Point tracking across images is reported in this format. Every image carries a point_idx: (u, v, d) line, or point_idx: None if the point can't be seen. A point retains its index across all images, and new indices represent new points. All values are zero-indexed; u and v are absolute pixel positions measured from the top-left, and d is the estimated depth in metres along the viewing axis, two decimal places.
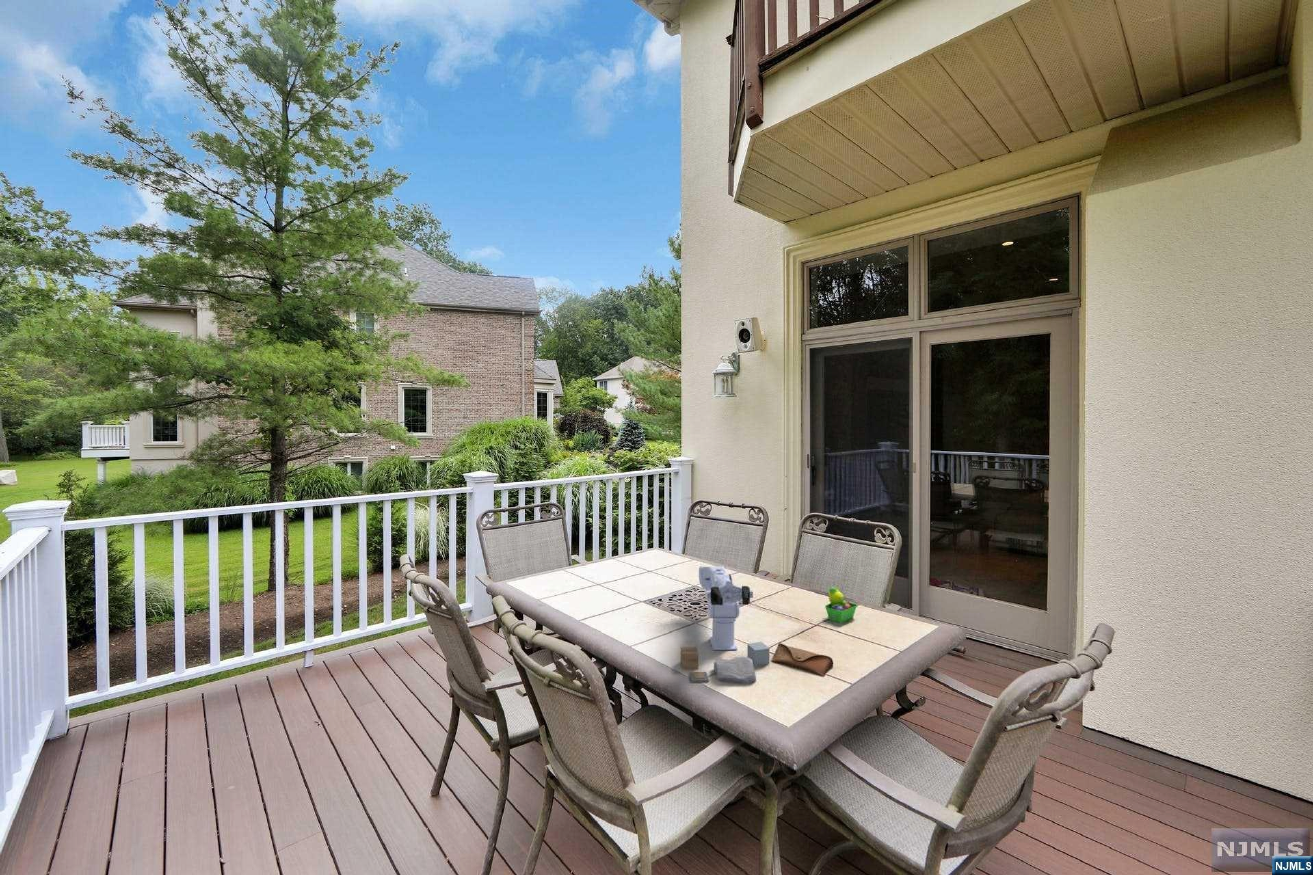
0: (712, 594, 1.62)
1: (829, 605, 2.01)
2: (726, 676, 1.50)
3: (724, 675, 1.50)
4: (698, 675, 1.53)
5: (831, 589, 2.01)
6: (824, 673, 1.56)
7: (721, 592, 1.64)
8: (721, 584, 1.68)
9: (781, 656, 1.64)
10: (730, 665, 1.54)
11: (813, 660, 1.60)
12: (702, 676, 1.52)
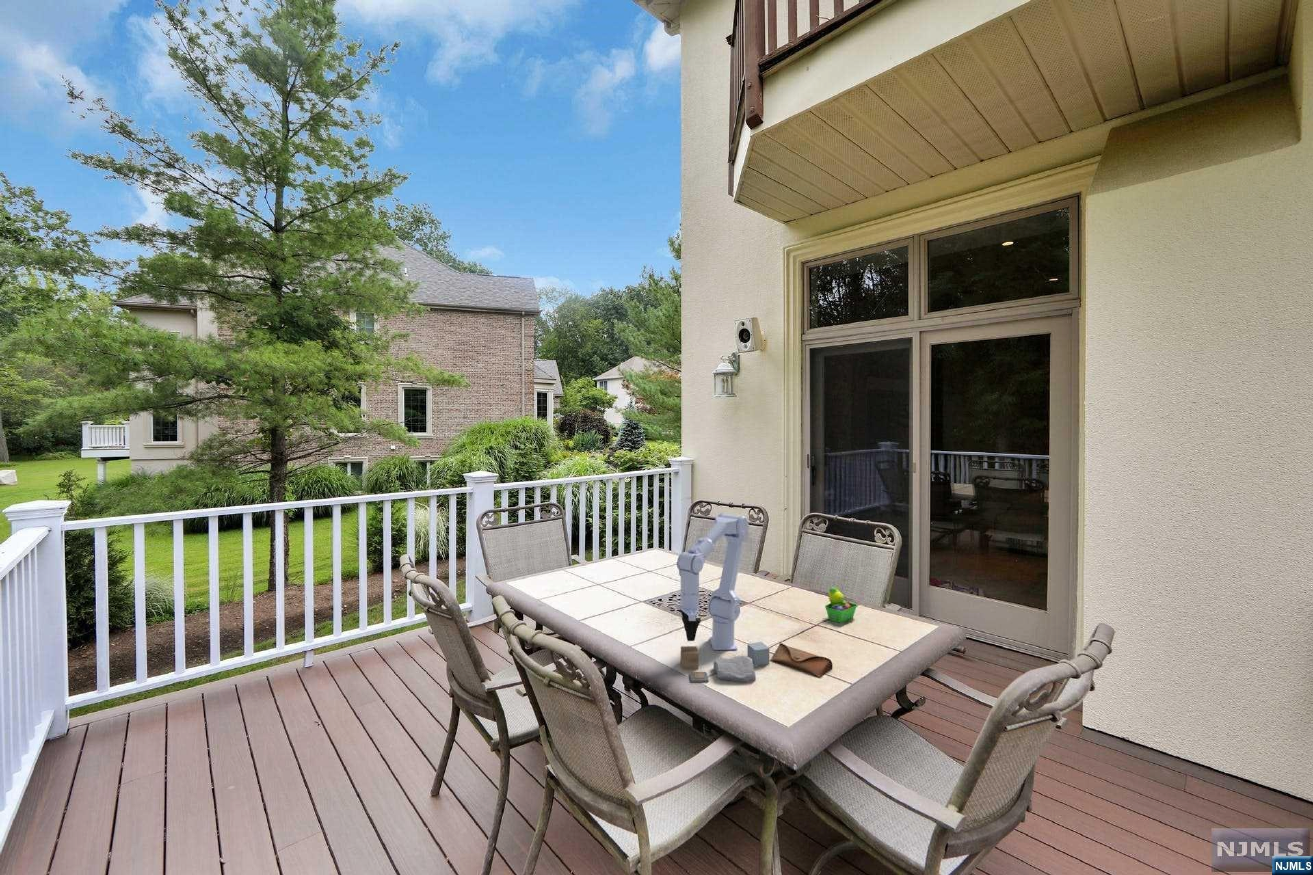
0: None
1: (829, 605, 2.01)
2: (726, 675, 1.51)
3: (724, 674, 1.51)
4: (698, 675, 1.53)
5: (831, 589, 2.01)
6: (821, 674, 1.55)
7: None
8: None
9: (780, 656, 1.64)
10: (730, 664, 1.55)
11: (811, 661, 1.59)
12: (702, 676, 1.52)
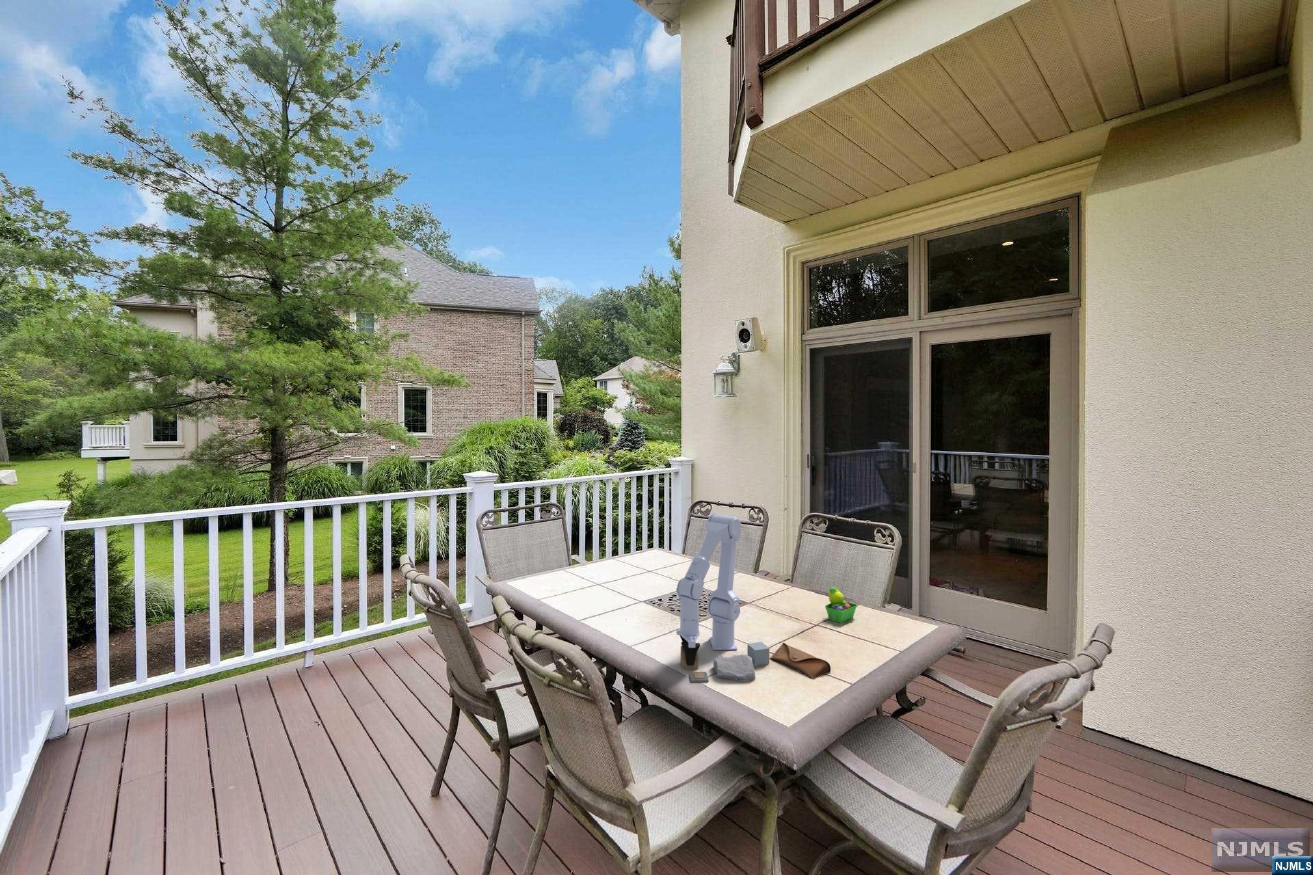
0: None
1: (829, 605, 2.01)
2: (726, 674, 1.52)
3: (724, 673, 1.52)
4: (698, 675, 1.53)
5: (831, 589, 2.01)
6: (815, 676, 1.54)
7: None
8: None
9: (780, 654, 1.65)
10: (730, 663, 1.56)
11: (808, 662, 1.58)
12: (702, 676, 1.52)
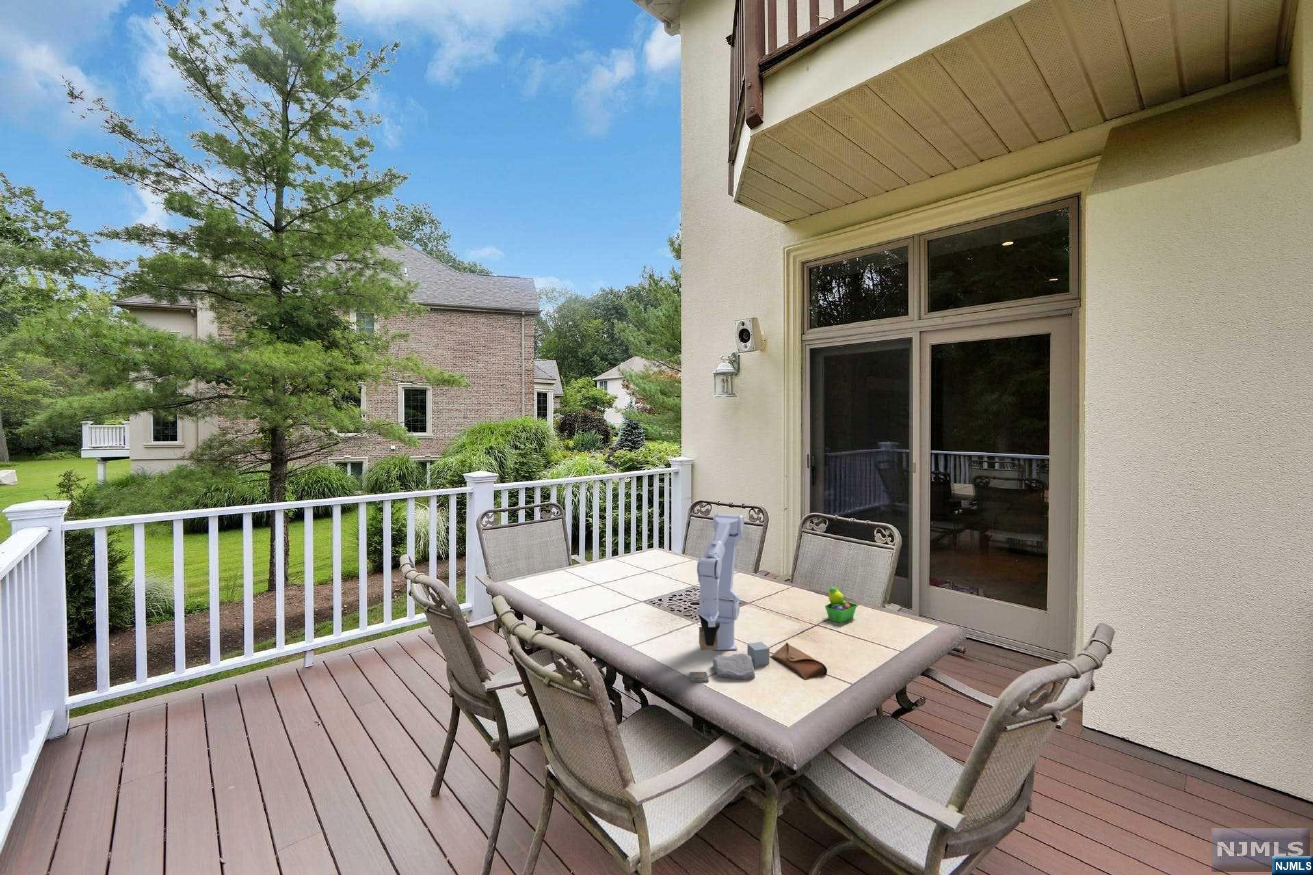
0: None
1: (829, 605, 2.01)
2: (725, 673, 1.52)
3: (723, 671, 1.52)
4: (698, 675, 1.53)
5: (831, 589, 2.02)
6: (808, 677, 1.53)
7: None
8: None
9: (779, 653, 1.65)
10: (729, 662, 1.57)
11: (804, 663, 1.58)
12: (702, 676, 1.52)
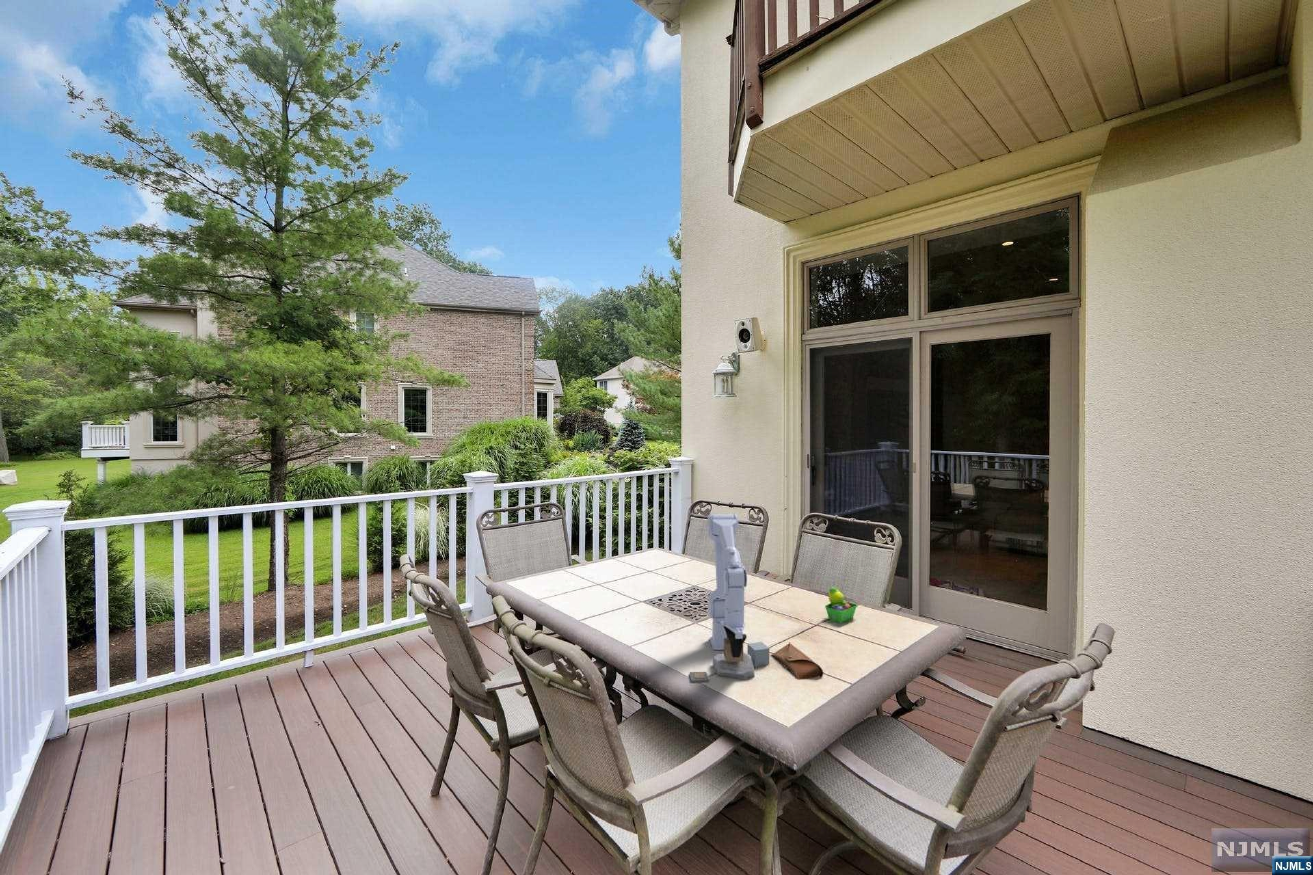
0: None
1: (829, 605, 2.01)
2: (725, 672, 1.53)
3: (723, 670, 1.53)
4: (698, 675, 1.53)
5: (831, 589, 2.01)
6: (802, 677, 1.53)
7: None
8: None
9: (780, 652, 1.66)
10: None
11: (800, 663, 1.57)
12: (702, 676, 1.52)
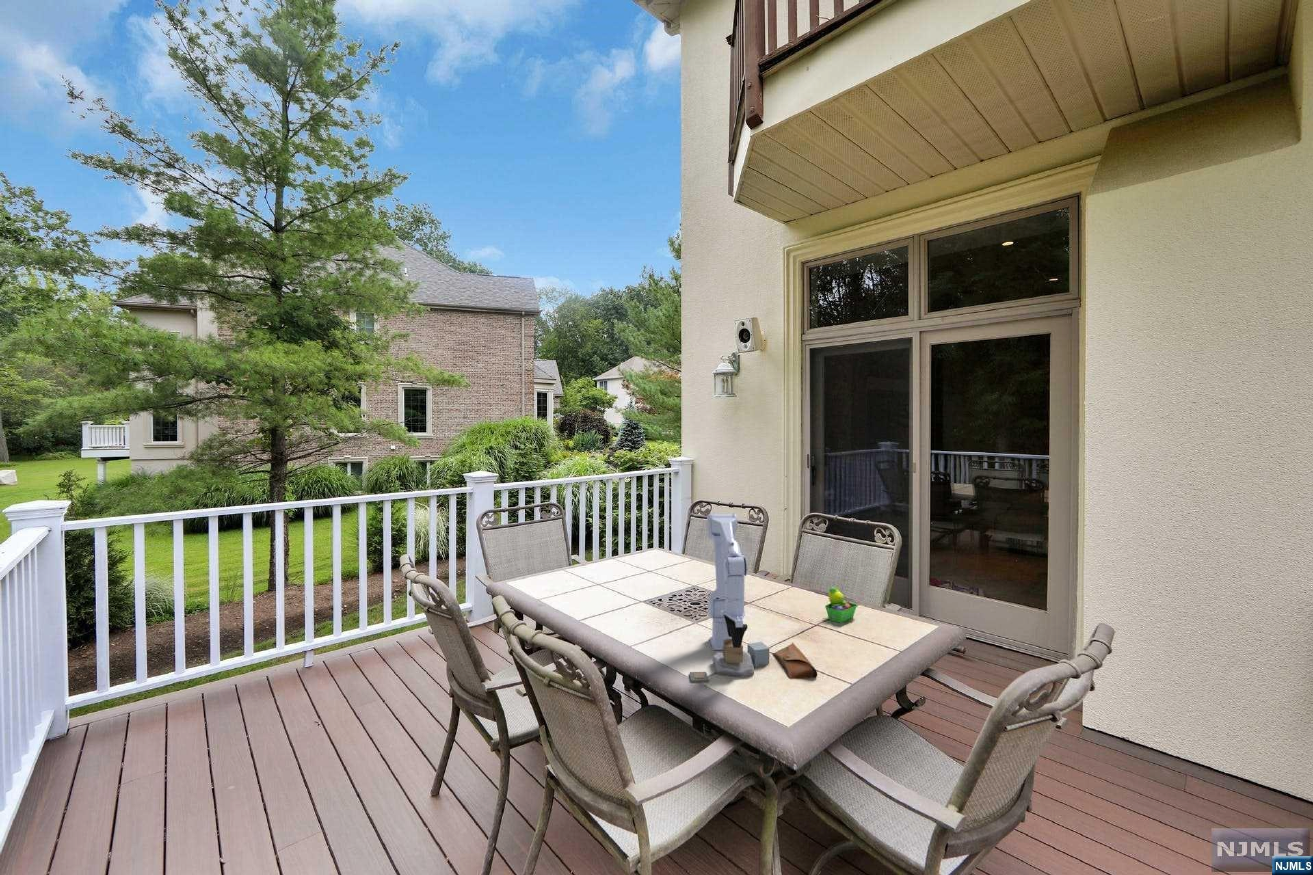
0: None
1: (829, 605, 2.01)
2: (725, 670, 1.54)
3: (723, 669, 1.54)
4: (698, 675, 1.53)
5: (831, 589, 2.01)
6: (794, 677, 1.53)
7: None
8: None
9: (780, 652, 1.67)
10: None
11: (796, 663, 1.57)
12: (702, 676, 1.52)
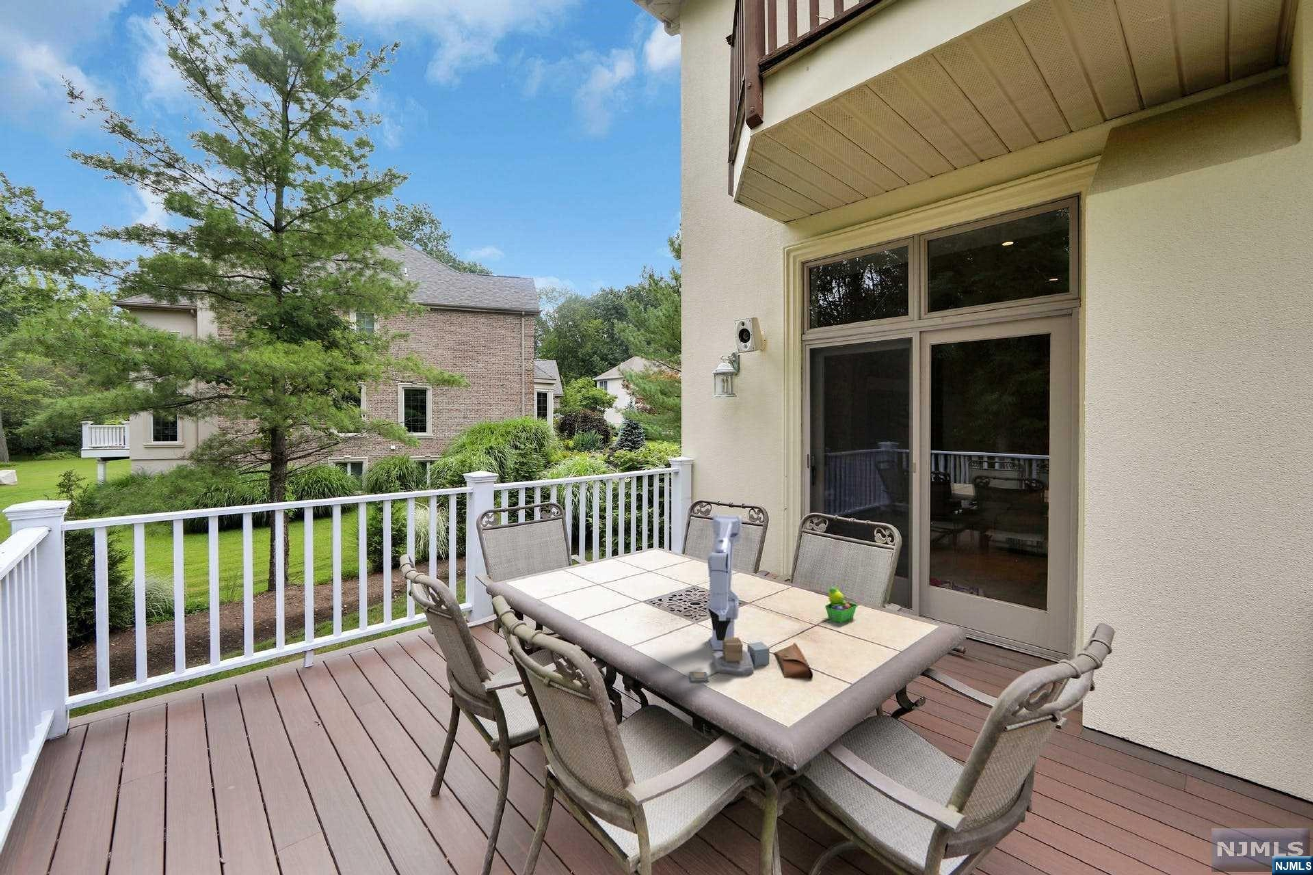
0: None
1: (829, 605, 2.01)
2: (725, 669, 1.55)
3: (723, 667, 1.55)
4: (698, 675, 1.53)
5: (831, 589, 2.01)
6: (789, 676, 1.54)
7: None
8: None
9: (781, 651, 1.67)
10: None
11: (793, 663, 1.58)
12: (702, 676, 1.52)
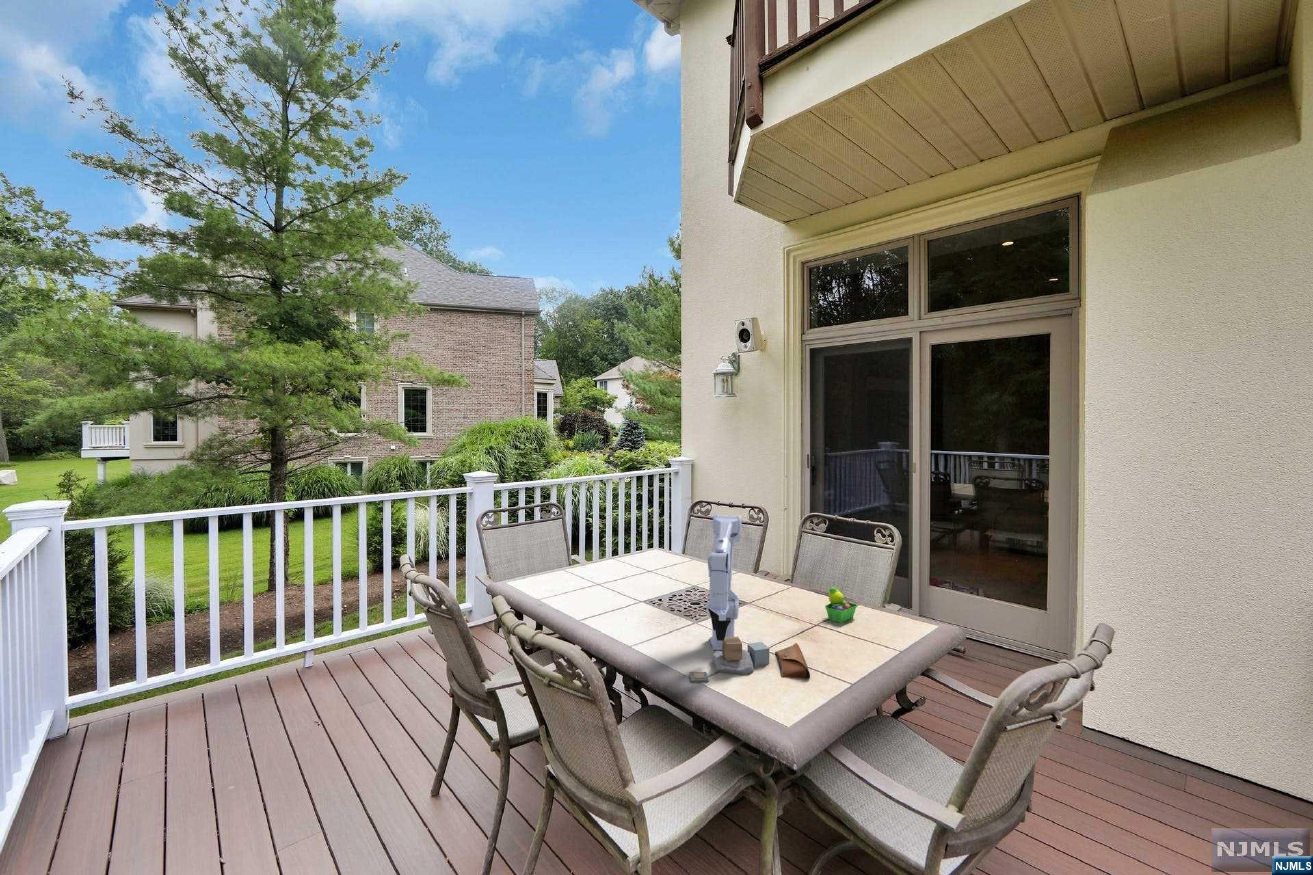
0: None
1: (829, 605, 2.01)
2: (725, 668, 1.56)
3: (723, 667, 1.56)
4: (698, 675, 1.53)
5: (831, 589, 2.01)
6: (786, 675, 1.54)
7: None
8: None
9: (782, 651, 1.67)
10: None
11: (791, 663, 1.58)
12: (702, 676, 1.52)
